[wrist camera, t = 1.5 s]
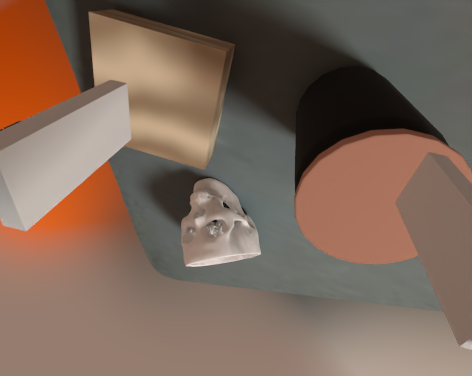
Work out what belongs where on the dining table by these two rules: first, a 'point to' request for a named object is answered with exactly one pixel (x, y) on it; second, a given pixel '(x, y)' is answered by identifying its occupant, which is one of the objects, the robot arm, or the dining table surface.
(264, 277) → the dining table surface
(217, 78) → the beech block
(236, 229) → the skull bowl
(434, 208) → the robot arm
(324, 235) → the coffee jar
